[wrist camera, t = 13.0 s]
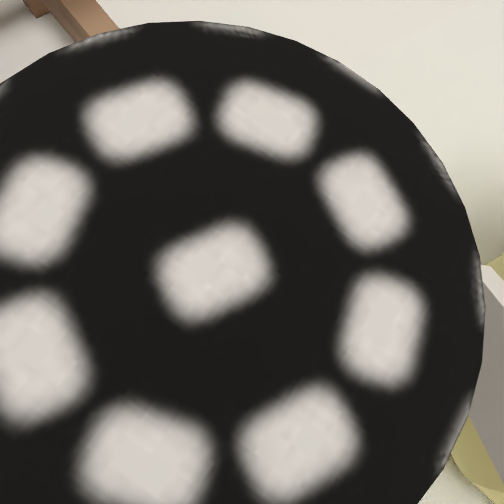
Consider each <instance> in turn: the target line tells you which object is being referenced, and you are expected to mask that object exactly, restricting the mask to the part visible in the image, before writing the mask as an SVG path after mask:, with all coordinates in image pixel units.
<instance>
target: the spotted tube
mask: <svg viewBox="0 0 504 504" xmlns="http://www.w3.org/2000/svg"><path fill="white" fill-rule="evenodd" d="M485 311H486V306H485V298H484V290H483V281H482V273H481V264H480V256H479V252H478V249H477V246H476V243H475V239H474V236H473V233H472V229H471V226H470V223H469V219H468V216H467V213H466V209H465V207H464V205H463V203H462V201H461V199H460V197H459V195H458V193H457V191H456V189H455V187H454V185H453V183H452V181H451V179H450V177H449V175H448V173H447V171H446V169H445V167H444V165H443V163H442V161H441V160H440V159H439V157H438V156H437V155H436V153H435V152H434V150H433V149H432V148H431V146H430V145H429V144H428V142H427V141H426V140H425V138H424V137H423V135H422V134H421V133H420V131H419V130H418V129H417V127H416V126H415V125H414V123H413V122H412V121H411V120H410V119H409V118H408V117H407V116H406V115H405V114H404V113H403V112H401V111H400V110H399V109H398V108H397V107H396V106H395V105H394V104H393V103H392V102H391V101H390V100H389V99H388V98H387V97H386V96H385V95H384V94H383V93H382V92H381V91H380V90H379V89H378V88H376V87H375V86H373V85H372V84H370V83H369V82H367V81H366V80H365V79H363V78H362V77H360V76H359V75H357V74H356V73H355V72H353V71H352V70H350V69H349V68H347V67H346V66H345V65H343V64H342V63H340V62H339V61H337V60H334V59H332V58H330V57H328V56H326V55H324V54H322V53H320V52H318V51H316V50H314V49H312V48H309V47H307V46H305V45H303V44H301V43H299V42H297V41H294V40H291V39H288V38H284V37H281V36H277V35H274V34H271V33H267V32H264V31H260V30H257V29H254V28H250V27H244V26H236V25H228V24H220V23H212V22H204V21H186V22H161V23H146V24H142V25H137V26H132V27H128V28H123V29H118V30H113V31H109V32H104V33H99V34H96V35H94V36H91V37H89V38H86V39H84V40H81V41H79V42H76V43H74V44H71V45H69V46H66V47H64V48H61V49H59V50H56V51H54V52H51V53H49V54H47V55H45V56H44V57H42V58H40V59H39V60H37V61H36V62H34V63H32V64H31V65H29V66H28V67H26V68H24V69H23V70H21V71H20V72H18V73H16V74H15V75H13V76H12V77H10V78H8V79H7V80H5V81H3V82H2V83H1V84H0V504H418V502H419V501H420V500H421V498H422V497H423V496H424V494H425V493H426V492H427V490H428V489H429V488H430V486H431V485H432V484H433V482H434V481H435V480H436V478H437V477H438V476H439V474H440V473H441V472H442V470H443V469H444V466H445V464H446V462H447V460H448V458H449V456H450V454H451V452H452V450H453V448H454V445H455V443H456V441H457V439H458V437H459V435H460V433H461V431H462V429H463V427H464V424H465V422H466V420H467V418H468V415H469V412H470V408H471V404H472V400H473V396H474V392H475V388H476V384H477V380H478V376H479V373H480V369H481V365H482V357H483V342H484V326H485Z"/></svg>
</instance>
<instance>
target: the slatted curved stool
mask: <svg viewBox="0 0 504 504" xmlns="http://www.w3.org/2000/svg"><path fill="white" fill-rule="evenodd" d="M485 266H490V267H492V269H493V270H494V271H495V272H496V273H497V274H498V275H499V276H500V278H501V279H502V280H503V281H504V253H503V254H502V255H500V256H499V257H497V258H495V259H494V260H492V261H491V262H489V263H487V264H486V265H485ZM451 454H452V457H453V459H454V461H455V463H456V465H457V466H458V468H459V470H460V471H461V472H462V473H463V475H464V476H465V477H466V478H467V479H469V480H470V481H471V482H472V483H473V484H474V485H475V486H476V487H477V488H478V489H479V490H480V491H482V492H483V493H484V494H485V495H486V496H487V497H488V498H489V499H490V500H491V501H492V502H493V503H494V504H504V484H503V482H502V480H501V478H500V476H499V474H498V472H497V470H496V468H495V466H494V464H493V462H492V460H491V458H490V457H489V455H488V453H487V451H486V449H485V447H484V445H483V443H482V441H481V439H480V437H479V435H478V433H477V431H476V429H475V427H474V425H473V423H472V421H471V419H470V417H469V415H468V418H467V420H466V422H465V424H464V427H463V429H462V431H461V433H460V435H459V437H458V439H457V441H456V443H455V445H454V448H453V450H452V452H451Z"/></svg>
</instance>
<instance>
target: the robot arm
mask: <svg viewBox="0 0 504 504" xmlns="http://www.w3.org/2000/svg"><path fill="white" fill-rule="evenodd" d="M481 273H482V281H483V290H484V298H485V306H486V311H485V326H484V342H483V357H482V365H481V369H480V373H479V376H478V380H477V384H476V388H475V392H474V396H473V400H472V404H471V408H470V412H469V417H470V419H471V421H472V423H473V425H474V427H475V429H476V431H477V433H478V435H479V437H480V439H481V441H482V443H483V445H484V447H485V449H486V451H487V453H488V455H489V457H490V458H491V460H492V462H493V464H494V466H495V468H496V470H497V472H498V474H499V476H500V478H501V480H502V482H503V484H504V281H503V280H502V279H501V278H500V276H499V275H498V274H497V273H496V272H495V271H494V270H493V269H492V267H490V266H485V265H481Z"/></svg>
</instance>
